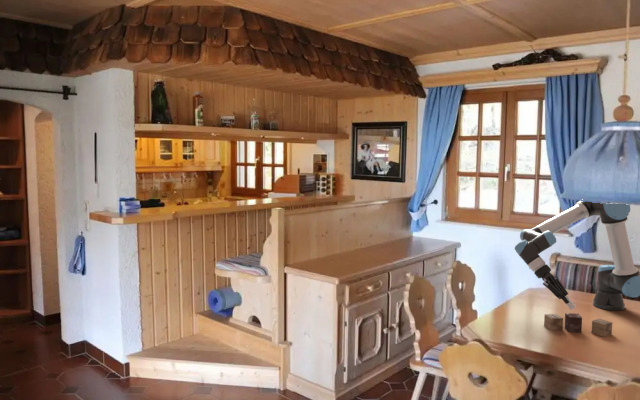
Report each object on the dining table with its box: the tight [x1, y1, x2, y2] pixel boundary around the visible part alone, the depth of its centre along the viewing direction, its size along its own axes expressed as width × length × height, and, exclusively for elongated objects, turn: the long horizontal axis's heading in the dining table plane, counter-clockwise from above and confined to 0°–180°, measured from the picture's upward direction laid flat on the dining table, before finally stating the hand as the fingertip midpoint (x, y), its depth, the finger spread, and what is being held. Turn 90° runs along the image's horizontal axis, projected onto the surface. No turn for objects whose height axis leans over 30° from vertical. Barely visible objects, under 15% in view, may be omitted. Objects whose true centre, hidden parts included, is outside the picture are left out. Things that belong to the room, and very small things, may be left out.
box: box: [564, 312, 583, 333], centre depth 235 cm, size 6×6×7 cm
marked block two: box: [543, 313, 564, 331], centre depth 238 cm, size 6×6×6 cm
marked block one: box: [591, 318, 613, 338], centre depth 231 cm, size 6×6×6 cm
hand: (573, 308), depth 235 cm, fingers closed
